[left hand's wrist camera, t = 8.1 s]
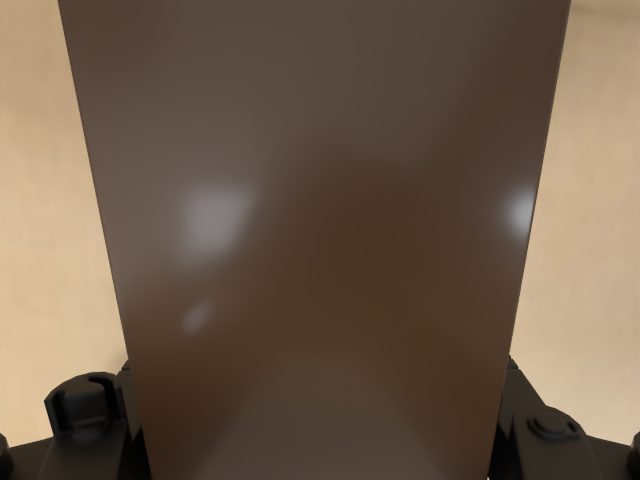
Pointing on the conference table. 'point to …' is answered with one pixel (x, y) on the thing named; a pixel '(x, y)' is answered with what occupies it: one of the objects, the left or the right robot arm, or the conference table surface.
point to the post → (316, 223)
